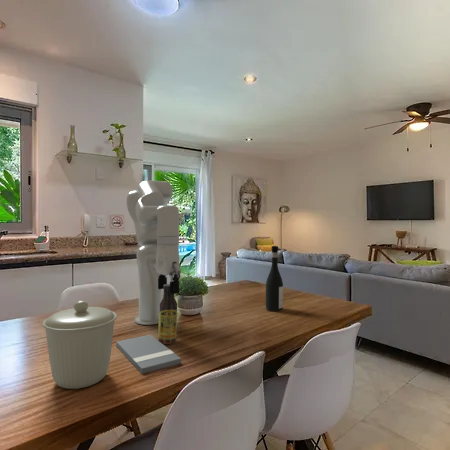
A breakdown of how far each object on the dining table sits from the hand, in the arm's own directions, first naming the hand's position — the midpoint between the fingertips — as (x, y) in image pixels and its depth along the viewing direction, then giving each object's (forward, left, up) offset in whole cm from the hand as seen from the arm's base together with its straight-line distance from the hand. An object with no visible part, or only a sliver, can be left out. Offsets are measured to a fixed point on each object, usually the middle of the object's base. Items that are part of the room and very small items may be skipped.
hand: (168, 290), depth 115 cm
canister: (+12, -30, -18) cm, 37 cm away
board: (+5, -10, -18) cm, 21 cm away
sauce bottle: (-1, 0, -18) cm, 18 cm away
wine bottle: (-11, +59, -18) cm, 63 cm away
